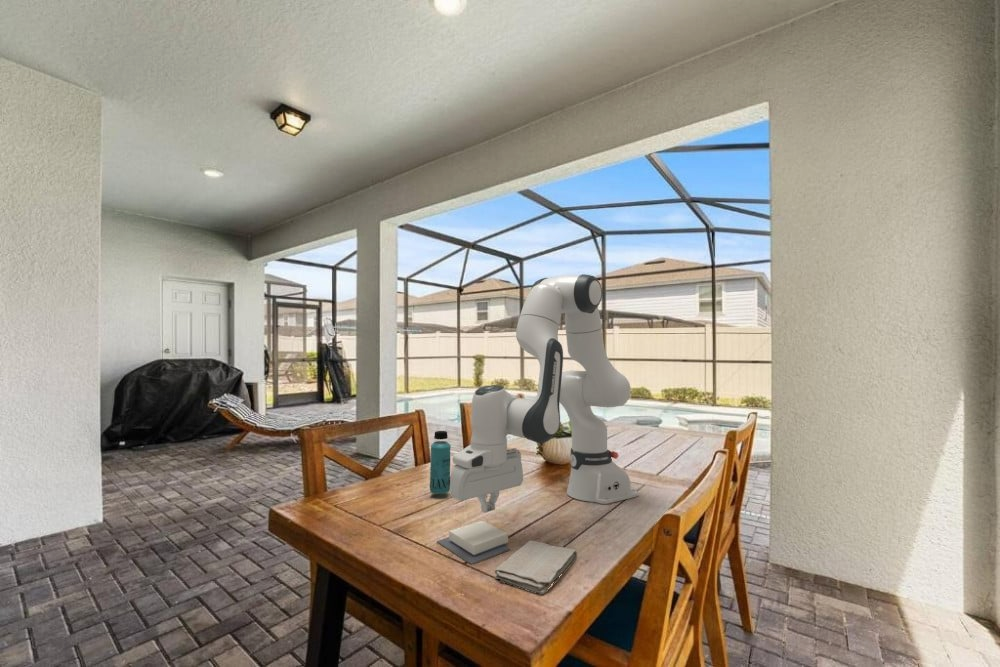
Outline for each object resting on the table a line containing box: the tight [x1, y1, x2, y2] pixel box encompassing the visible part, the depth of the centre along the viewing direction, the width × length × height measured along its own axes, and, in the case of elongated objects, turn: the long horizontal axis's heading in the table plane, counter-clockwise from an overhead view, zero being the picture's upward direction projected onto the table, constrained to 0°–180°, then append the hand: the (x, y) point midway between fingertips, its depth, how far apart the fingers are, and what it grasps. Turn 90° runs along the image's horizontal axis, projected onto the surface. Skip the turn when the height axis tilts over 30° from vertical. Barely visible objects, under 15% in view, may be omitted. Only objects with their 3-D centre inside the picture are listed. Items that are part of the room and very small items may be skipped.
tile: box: [448, 520, 509, 556], centre depth 105 cm, size 2×10×10 cm
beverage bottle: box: [429, 430, 452, 495], centre depth 139 cm, size 6×7×20 cm
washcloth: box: [494, 540, 578, 595], centre depth 94 cm, size 12×18×3 cm, turn 151°
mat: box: [436, 536, 511, 566], centre depth 104 cm, size 11×14×1 cm
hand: (488, 510), depth 107 cm, fingers closed
